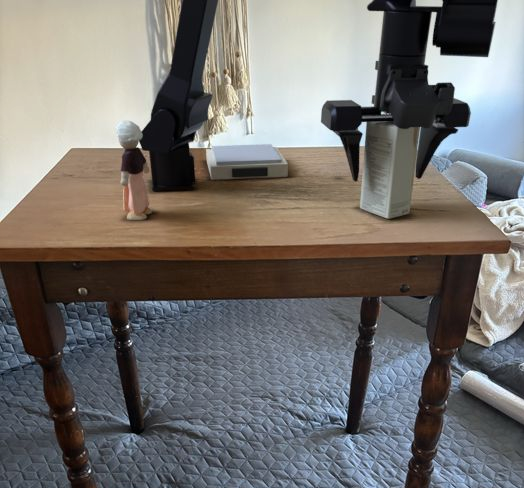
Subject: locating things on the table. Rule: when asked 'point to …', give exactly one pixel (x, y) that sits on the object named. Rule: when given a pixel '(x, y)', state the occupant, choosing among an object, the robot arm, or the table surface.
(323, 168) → the table surface
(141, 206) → the grandmother figurine
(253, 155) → the scale
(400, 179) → the cosmetic box
